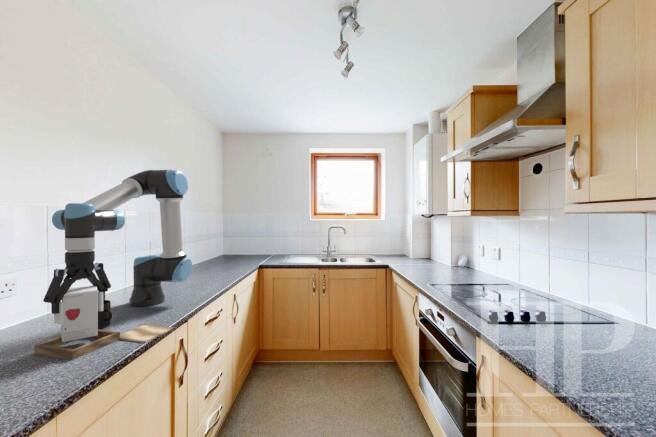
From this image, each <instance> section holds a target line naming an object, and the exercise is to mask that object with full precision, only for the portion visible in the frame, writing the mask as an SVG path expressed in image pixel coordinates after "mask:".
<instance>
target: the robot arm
mask: <svg viewBox="0 0 656 437" xmlns="http://www.w3.org/2000/svg"><path fill="white" fill-rule="evenodd" d="M188 189H189V184H188V179H187V177H186V176H185V174H184V173H183V172H182V171H180V170H177V169H148V170H143V171H141V172H138V173H136V174H132V175H130V176H128V177H127V178H124V179H123V180H122V182H121V183H120V184H118V185H116V186H114V187H113V188H112V187H111V188H110V189H108V190H106V191H104V192H102V193H100V194H98V195H96V196H94V197H93V198H90V199H88V200H86V201H85V202H82V203H79V202H78V203H77V202H76V203H74V202H73V203H67V204H65V208H64V209H59V210H56V211H55V212H54V213H53V214H52V217H51V222H52V224H53V226H54V227H55V229H58V230H60V231H64V250H65V251H66V252H65V253H64V263H65V267H64V268H60V269H59V268H56V269H54V270H53V277H52V280H51V281H50V284H49V287H48V289H47V290H46V293H45V295H44V296H43V300H42V301H43V302H44V303H50V304H51V308H50V309H51V310H50V311H51V312H50V313H51V315H52V314H53V324H56V325H62V324H63V323H64V319H63V302H62V298H63V297H64V294H66V293H67V291H68V290H69V288H71V287H72V285H73V284H74V283H76V281H81V280H83V279H84V280H85V279H87V281H89V282H90V284H91V286H97V290H98V311H103V300H106V292H108V290H109V289H111V287H112V285H111V283H110V281H109V278H108V277H107V274H106V271H105V269H104V263H103V262H95V260H96V259H95V257H96V256H95V253H96V252H95V250H94V249H95V248H96V245H95V244H96V242H95V236H96V232H107V231H108V232H109V231H110V232H113V231H118V230H121V229H122V228H123V227H124V226H125V223H126V218H125V215H124V214H123V212H122V211H121V210H118V209H117V208H119V207H120V206H121V205H124V204H126V203H127V202H128V201H131V200H132V199H138V198H139V199H140V198H141V197H142V196H146V195H154V196H155V200H157V201H158V202H159V210H160V227H161V241H162V242H161V244H162V252H161V253H160V254H159V253H158V254H151V255H150V254H149V255H144V256H143V255H142V256H138V257H135V258H134V260H133V288H132V292H131V295H130V298H129V301H128V302H129V303H128V304H129V306H131V307H149V306H155V305H159V304H161V303H163V302H165V300H166V295H165V294H164V291H163V287H162V283H163V282H165V283H183V282H184V281H186V280H188V278H189V277H190V275H191V273H192V269H193V263H192V262H193V261H192V260H191V259H190V258H189V257H187V252H185V251H184V250H183V234H182V233H183V231H182V213H181V202H182V200H183V199H184V195H185V194H187V192H188ZM115 209H117V210H115ZM93 271H95V273H94V272H93Z"/></svg>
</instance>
